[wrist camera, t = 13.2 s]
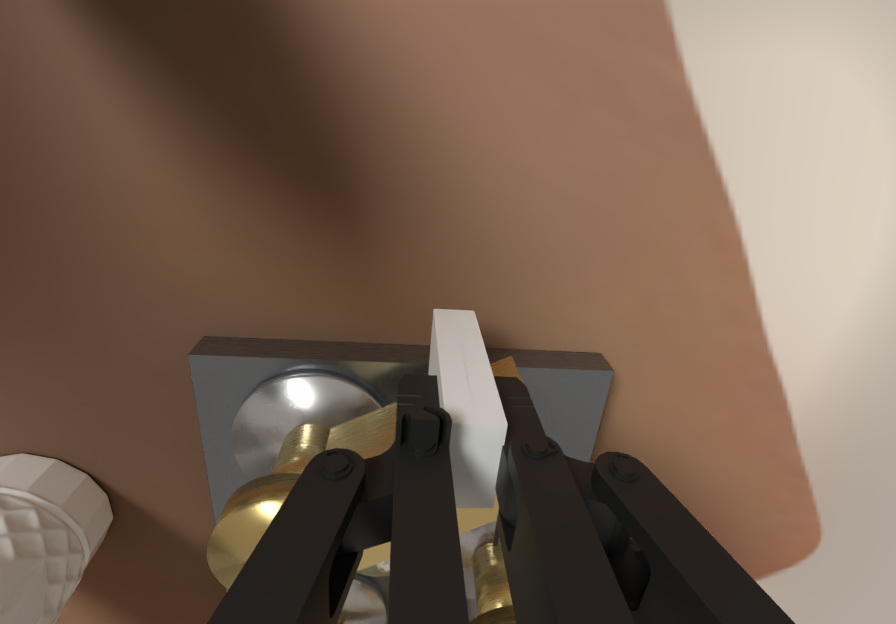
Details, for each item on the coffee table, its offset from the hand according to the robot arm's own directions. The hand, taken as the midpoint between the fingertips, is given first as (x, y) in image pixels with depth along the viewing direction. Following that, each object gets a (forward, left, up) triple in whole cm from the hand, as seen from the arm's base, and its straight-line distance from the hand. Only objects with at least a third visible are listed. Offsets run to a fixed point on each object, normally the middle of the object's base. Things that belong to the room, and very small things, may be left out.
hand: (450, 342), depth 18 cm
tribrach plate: (+12, -1, -4) cm, 13 cm away
